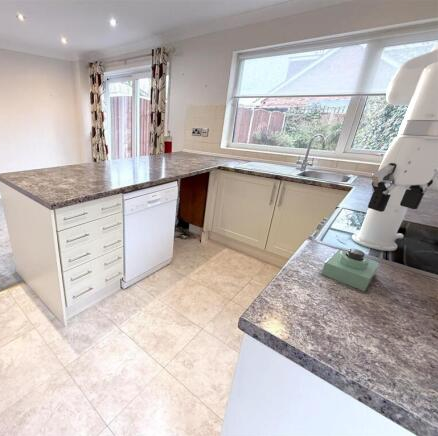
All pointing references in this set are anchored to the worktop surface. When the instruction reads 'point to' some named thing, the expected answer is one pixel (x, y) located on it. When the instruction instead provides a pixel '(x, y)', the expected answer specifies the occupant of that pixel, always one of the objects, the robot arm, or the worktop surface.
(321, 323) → the worktop surface
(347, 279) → the green stepped base
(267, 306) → the worktop surface
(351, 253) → the grey metal rounded piece
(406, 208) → the robot arm
